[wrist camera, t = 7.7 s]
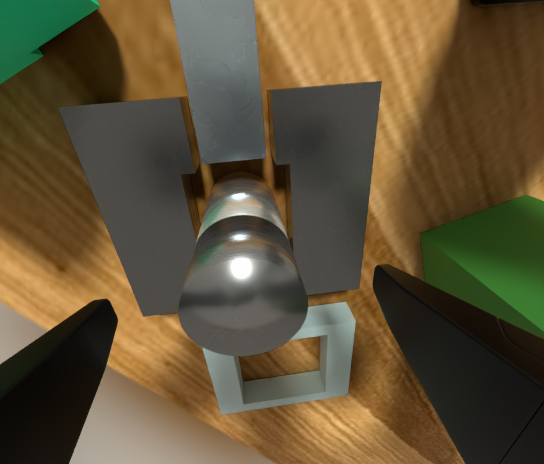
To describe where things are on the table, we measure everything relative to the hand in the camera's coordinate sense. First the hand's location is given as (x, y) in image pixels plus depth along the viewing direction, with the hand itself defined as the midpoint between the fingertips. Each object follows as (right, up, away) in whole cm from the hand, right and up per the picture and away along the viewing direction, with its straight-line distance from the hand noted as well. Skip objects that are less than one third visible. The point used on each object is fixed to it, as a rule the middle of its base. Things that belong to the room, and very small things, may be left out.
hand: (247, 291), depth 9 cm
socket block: (-1, +4, +7) cm, 8 cm away
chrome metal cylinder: (-1, +4, +7) cm, 8 cm away
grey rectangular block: (-1, +10, +4) cm, 11 cm away
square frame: (+2, -8, +14) cm, 16 cm away
